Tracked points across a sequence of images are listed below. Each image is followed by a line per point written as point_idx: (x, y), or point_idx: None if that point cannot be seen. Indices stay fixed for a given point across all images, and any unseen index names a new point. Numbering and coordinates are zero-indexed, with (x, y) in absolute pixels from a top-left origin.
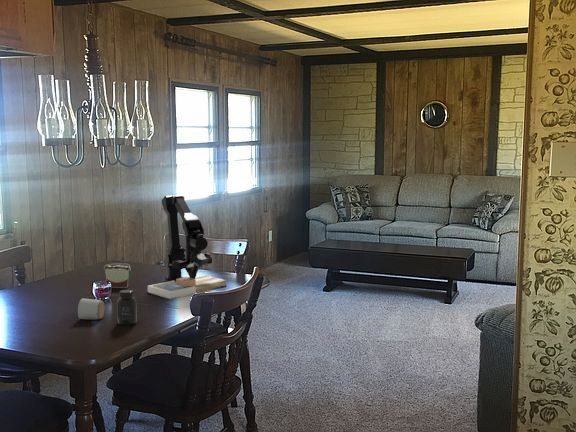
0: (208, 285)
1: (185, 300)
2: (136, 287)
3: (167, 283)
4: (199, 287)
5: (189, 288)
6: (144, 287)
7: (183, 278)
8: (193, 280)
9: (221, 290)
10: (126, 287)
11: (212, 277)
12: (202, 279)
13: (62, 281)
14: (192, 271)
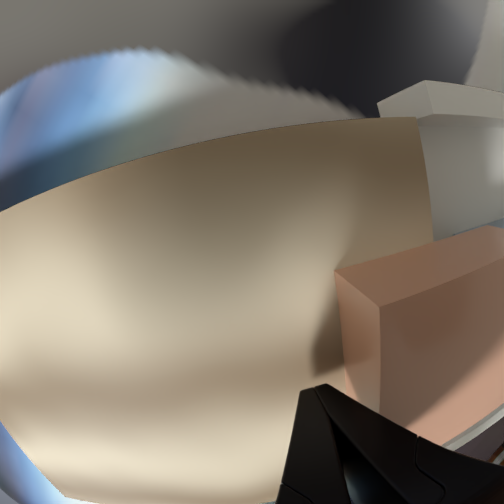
0: (136, 163)
1: (486, 18)
2: (486, 449)
3: None
4: (329, 124)
5: (488, 92)
6: (474, 447)
7: (466, 405)
8: (413, 282)
9: (59, 70)
10: (502, 447)
11: (17, 434)
12: (117, 448)
13: None
14: (461, 484)
